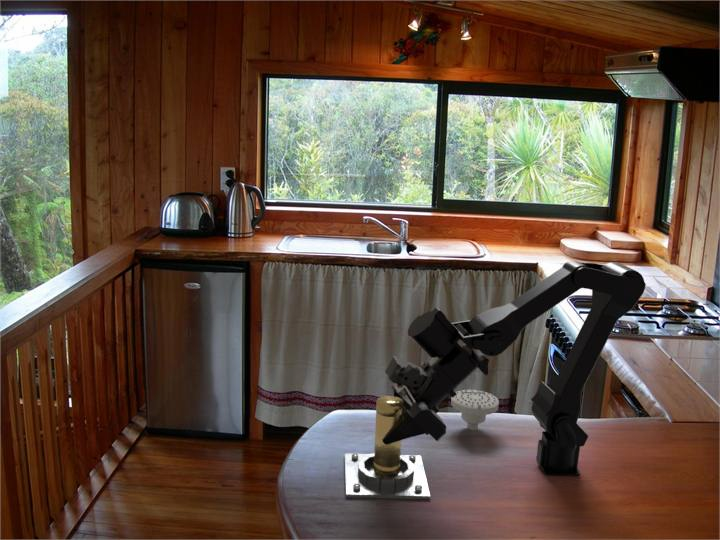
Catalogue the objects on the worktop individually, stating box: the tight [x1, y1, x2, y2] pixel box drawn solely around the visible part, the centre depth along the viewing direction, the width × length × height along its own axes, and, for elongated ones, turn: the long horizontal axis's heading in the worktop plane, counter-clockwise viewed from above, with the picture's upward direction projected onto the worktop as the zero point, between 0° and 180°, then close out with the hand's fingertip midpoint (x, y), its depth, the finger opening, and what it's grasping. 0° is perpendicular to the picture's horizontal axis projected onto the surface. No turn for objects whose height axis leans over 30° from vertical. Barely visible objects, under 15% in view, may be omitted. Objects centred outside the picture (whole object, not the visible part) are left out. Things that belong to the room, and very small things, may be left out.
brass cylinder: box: [373, 395, 404, 477], centre depth 132 cm, size 5×5×13 cm
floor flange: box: [344, 452, 431, 500], centre depth 134 cm, size 14×14×2 cm
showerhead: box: [450, 388, 500, 431], centre depth 153 cm, size 9×7×10 cm
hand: (380, 436), depth 132 cm, fingers closed on brass cylinder, 4 cm apart
